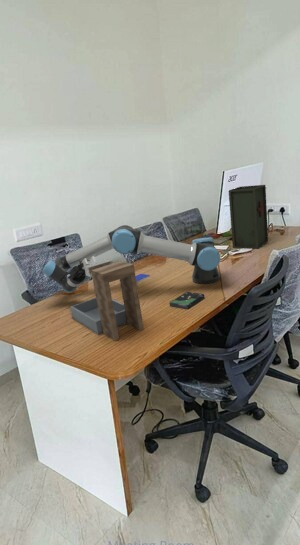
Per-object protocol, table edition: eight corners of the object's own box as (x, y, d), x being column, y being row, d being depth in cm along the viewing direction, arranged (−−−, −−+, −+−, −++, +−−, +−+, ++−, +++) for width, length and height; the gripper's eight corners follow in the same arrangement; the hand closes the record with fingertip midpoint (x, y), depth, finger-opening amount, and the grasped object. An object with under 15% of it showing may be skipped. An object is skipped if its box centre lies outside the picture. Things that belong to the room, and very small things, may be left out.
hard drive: (135, 281, 215) (149, 274, 223) (125, 279, 220) (139, 273, 229) (136, 283, 215) (150, 277, 224) (126, 282, 221) (140, 275, 229)
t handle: (71, 269, 168) (69, 261, 167) (95, 262, 174) (93, 254, 173) (90, 276, 152) (88, 267, 151) (115, 269, 159) (113, 260, 158)
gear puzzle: (243, 236, 293) (243, 231, 292) (234, 241, 282) (233, 235, 281) (209, 235, 313) (209, 230, 312) (199, 240, 302) (198, 235, 300)
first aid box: (258, 248, 249) (254, 188, 238) (232, 248, 260) (228, 190, 249) (268, 242, 263) (265, 184, 251) (243, 241, 274) (239, 186, 263)
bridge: (103, 333, 156) (90, 270, 148) (131, 322, 163) (120, 261, 155) (114, 340, 148) (102, 274, 140) (143, 328, 155) (133, 264, 147)
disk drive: (187, 296, 185) (169, 307, 174) (186, 291, 184) (169, 301, 173) (205, 299, 178) (188, 310, 167) (204, 293, 177) (187, 304, 167)
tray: (72, 318, 177) (69, 306, 175) (105, 306, 186) (103, 294, 184) (98, 334, 155) (95, 321, 153) (134, 320, 164) (132, 307, 163)
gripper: (93, 279, 186) (109, 263, 166) (63, 289, 178) (76, 272, 158) (88, 266, 187) (103, 248, 167) (57, 274, 179) (70, 257, 159)
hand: (90, 260), depth 163 cm, fingers closed on t handle, 3 cm apart
